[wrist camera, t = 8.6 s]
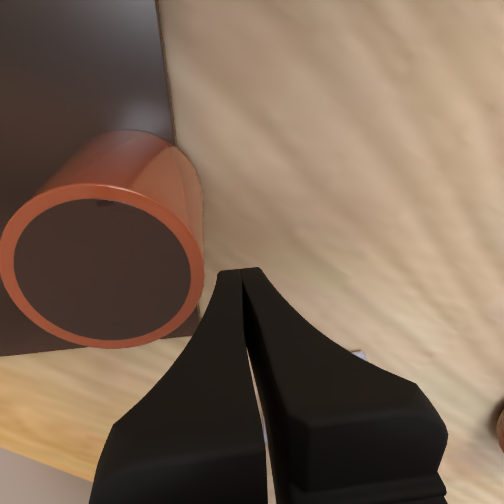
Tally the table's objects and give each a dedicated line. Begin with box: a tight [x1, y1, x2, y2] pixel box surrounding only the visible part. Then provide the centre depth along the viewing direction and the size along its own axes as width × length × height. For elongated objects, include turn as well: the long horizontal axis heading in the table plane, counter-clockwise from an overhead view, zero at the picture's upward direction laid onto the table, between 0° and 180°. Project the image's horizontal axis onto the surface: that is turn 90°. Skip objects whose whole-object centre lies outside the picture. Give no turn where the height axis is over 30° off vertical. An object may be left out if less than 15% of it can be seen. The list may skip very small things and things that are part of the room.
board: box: [0, 0, 201, 357], centre depth 20 cm, size 20×14×1 cm
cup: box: [0, 130, 205, 349], centre depth 17 cm, size 8×7×7 cm
